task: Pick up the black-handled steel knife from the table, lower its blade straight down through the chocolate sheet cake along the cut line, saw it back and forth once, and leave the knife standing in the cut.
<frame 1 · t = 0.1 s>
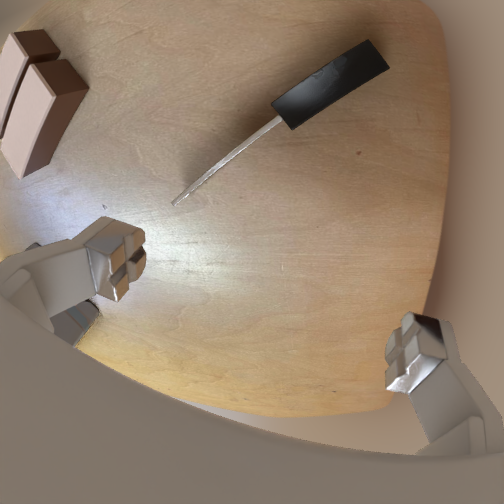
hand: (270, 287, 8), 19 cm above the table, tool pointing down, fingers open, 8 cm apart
knife: (287, 113, 23), on the table
toaster: (53, 306, 54), on the table
cake: (41, 96, 27), on the table
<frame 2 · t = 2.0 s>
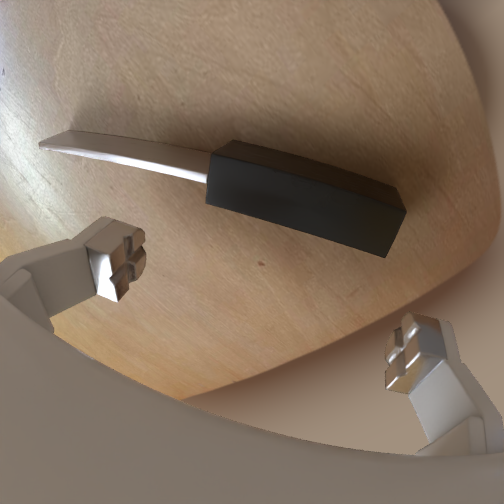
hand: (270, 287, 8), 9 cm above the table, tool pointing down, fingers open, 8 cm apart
knife: (229, 161, 16), on the table
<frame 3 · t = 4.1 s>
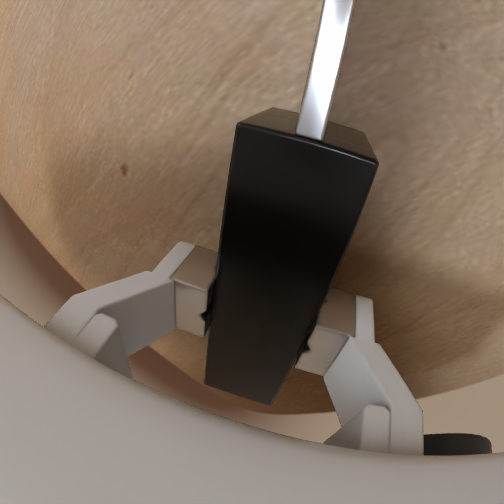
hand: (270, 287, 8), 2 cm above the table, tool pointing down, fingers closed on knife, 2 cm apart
knife: (318, 118, 7), on the table, touching gripper
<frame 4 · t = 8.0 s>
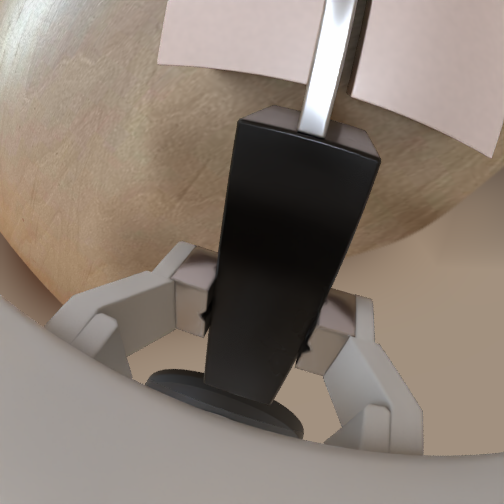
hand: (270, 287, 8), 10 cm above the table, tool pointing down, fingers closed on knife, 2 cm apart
knife: (319, 116, 7), point 9 cm above the table, touching gripper
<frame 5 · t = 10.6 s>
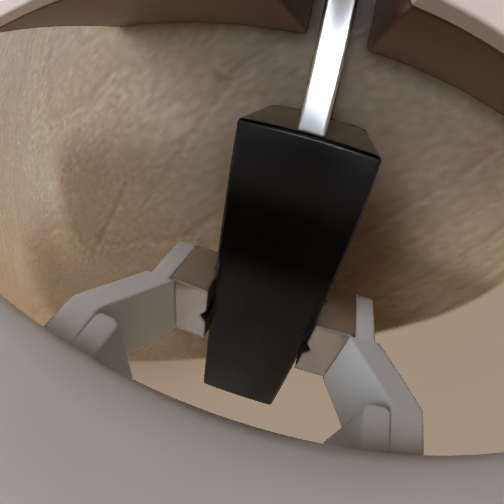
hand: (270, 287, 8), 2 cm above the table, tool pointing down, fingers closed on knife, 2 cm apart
knife: (319, 115, 7), on the table, touching gripper
when the fingers open (2 cm above the table, at t = 12.1 s): knife stays where it is, on the table.
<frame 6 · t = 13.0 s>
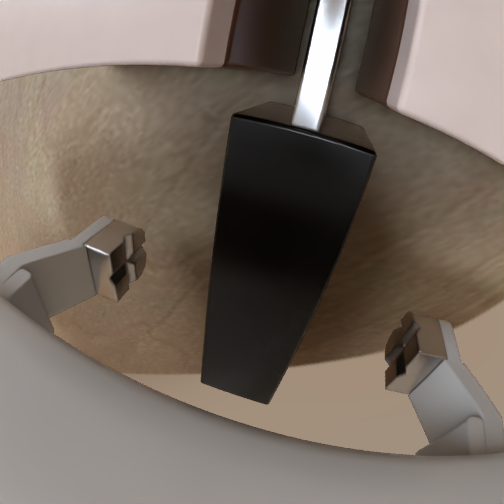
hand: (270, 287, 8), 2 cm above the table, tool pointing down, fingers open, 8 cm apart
knife: (316, 112, 7), on the table
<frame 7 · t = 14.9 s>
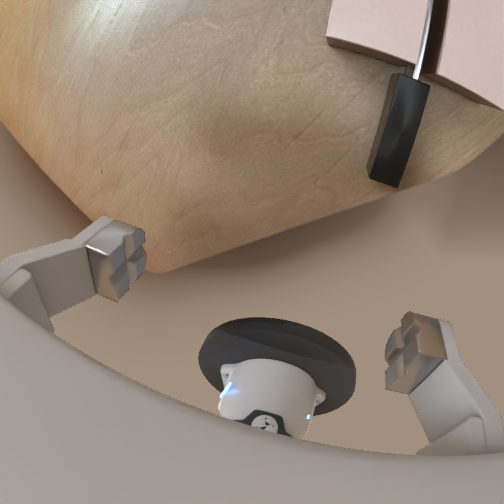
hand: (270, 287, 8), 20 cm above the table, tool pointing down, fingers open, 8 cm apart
knife: (406, 78, 19), on the table
cake: (421, 2, 14), on the table
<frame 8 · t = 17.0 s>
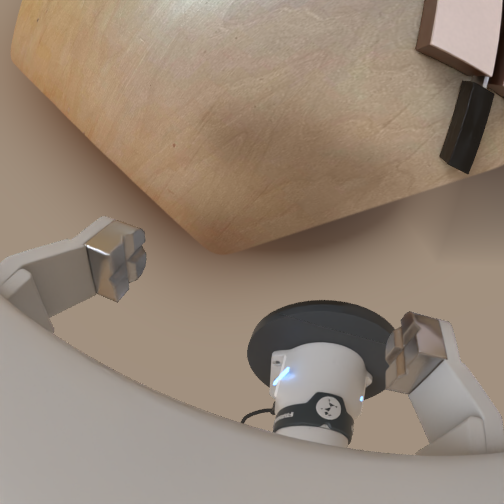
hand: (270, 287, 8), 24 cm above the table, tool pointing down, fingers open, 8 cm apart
knife: (472, 86, 20), on the table
cake: (484, 25, 15), on the table
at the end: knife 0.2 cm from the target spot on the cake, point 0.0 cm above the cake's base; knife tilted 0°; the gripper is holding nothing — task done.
